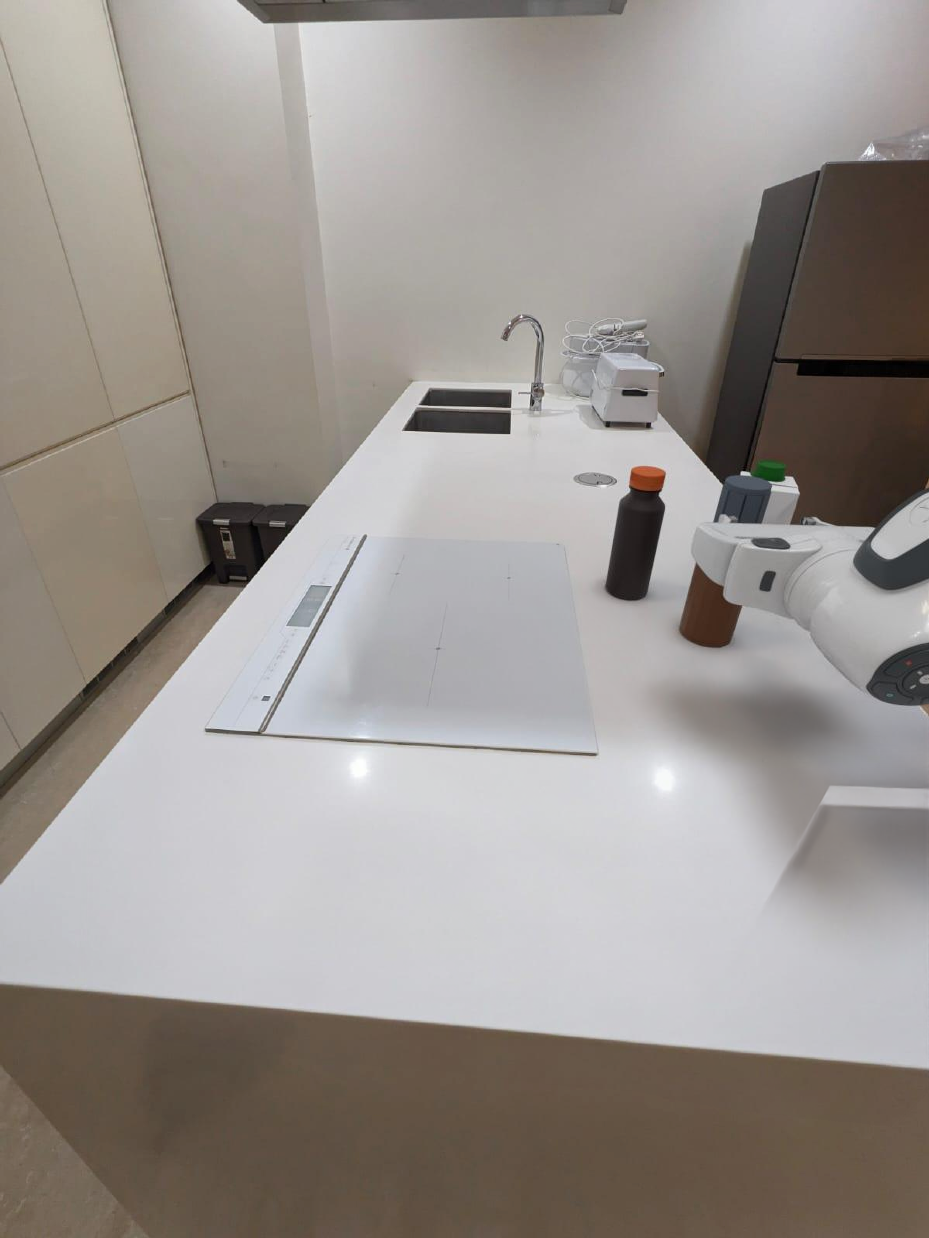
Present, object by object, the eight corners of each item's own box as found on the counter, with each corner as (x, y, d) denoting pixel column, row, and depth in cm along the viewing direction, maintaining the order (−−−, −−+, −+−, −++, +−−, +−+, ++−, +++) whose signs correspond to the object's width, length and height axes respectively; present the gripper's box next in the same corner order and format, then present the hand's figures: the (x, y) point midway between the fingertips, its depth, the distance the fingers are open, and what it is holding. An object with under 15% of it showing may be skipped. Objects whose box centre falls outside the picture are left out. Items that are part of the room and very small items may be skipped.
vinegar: (633, 605, 91) (658, 482, 80) (596, 590, 95) (615, 470, 84) (654, 590, 95) (681, 471, 84) (618, 576, 99) (639, 460, 88)
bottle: (703, 615, 89) (743, 475, 77) (742, 639, 83) (790, 493, 72) (668, 626, 86) (704, 483, 74) (706, 652, 81) (750, 502, 69)
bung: (744, 532, 79) (761, 475, 75) (760, 550, 74) (779, 490, 70) (704, 531, 79) (719, 474, 75) (718, 549, 75) (734, 489, 70)
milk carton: (763, 578, 99) (801, 463, 89) (768, 603, 92) (810, 481, 81) (709, 569, 102) (740, 456, 91) (710, 593, 95) (743, 474, 84)
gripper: (946, 551, 54) (864, 498, 66) (727, 545, 55) (684, 493, 66) (916, 608, 58) (844, 548, 69) (710, 602, 58) (673, 543, 70)
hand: (765, 521), depth 68 cm, fingers open, 8 cm apart
